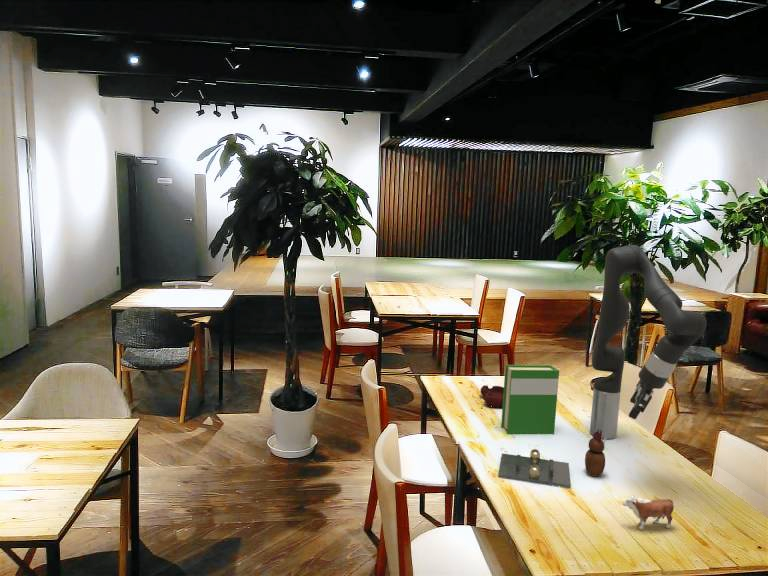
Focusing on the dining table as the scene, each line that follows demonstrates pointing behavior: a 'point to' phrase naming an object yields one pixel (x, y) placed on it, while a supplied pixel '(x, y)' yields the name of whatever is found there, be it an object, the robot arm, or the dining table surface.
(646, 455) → the dining table surface
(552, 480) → the metal mounting plate
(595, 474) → the wooden figurine
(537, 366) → the hardback book
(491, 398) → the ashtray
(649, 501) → the bull figurine
